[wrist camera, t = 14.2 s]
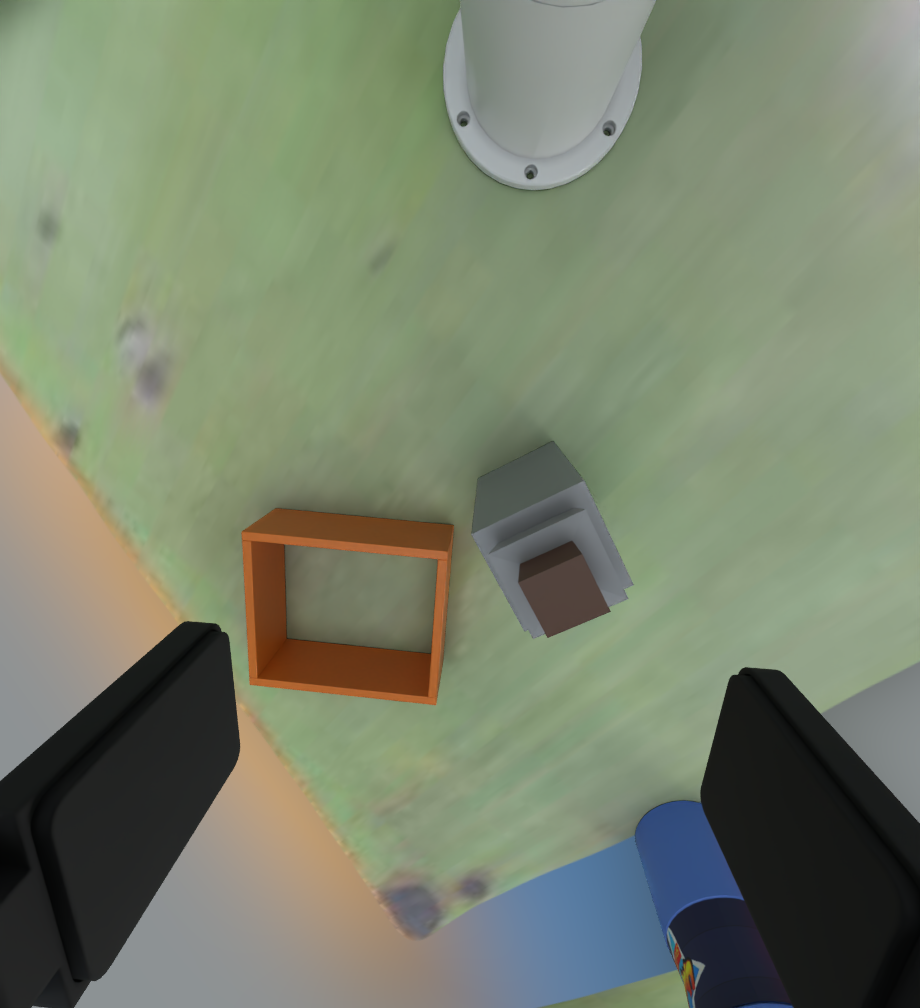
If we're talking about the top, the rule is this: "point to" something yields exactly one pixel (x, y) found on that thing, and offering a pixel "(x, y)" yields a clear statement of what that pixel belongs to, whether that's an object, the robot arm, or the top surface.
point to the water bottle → (704, 913)
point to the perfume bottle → (547, 543)
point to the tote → (327, 662)
